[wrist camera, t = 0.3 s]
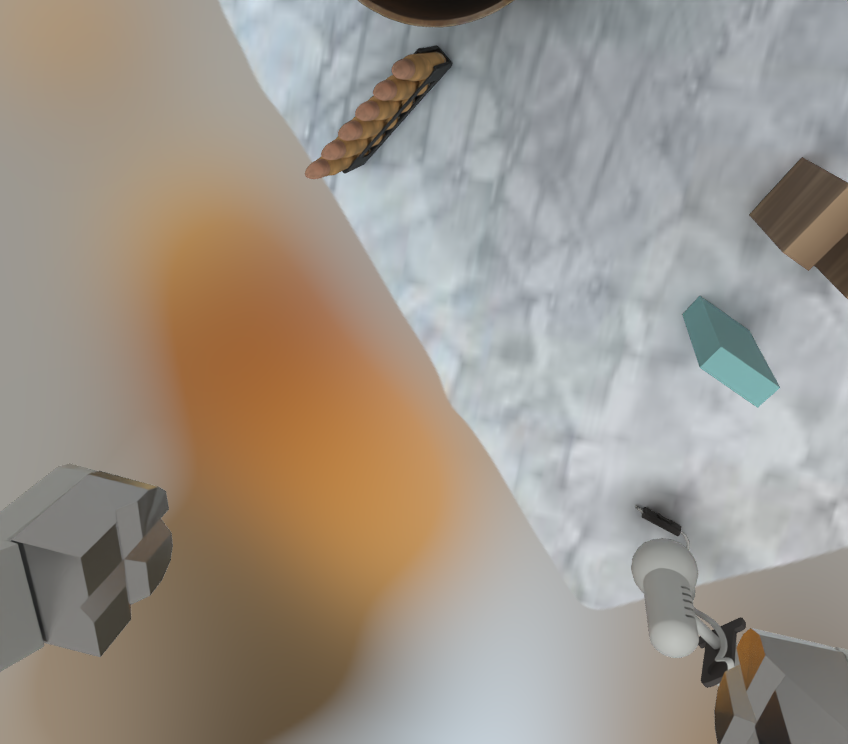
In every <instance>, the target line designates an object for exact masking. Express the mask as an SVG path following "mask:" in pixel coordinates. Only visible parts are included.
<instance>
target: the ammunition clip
mask: <svg viewBox="0 0 848 744" xmlns="http://www.w3.org/2000/svg"><path fill="white" fill-rule="evenodd" d="M451 66H452V62H451V61H450V60H449V59H448V58H447V56H446V55H445V54H444V53H443V52H442V51H441V50H440V49H439V47H438V46H432V47H426V48H419V49H417V51H416V52H415V53H414V54H411V55H408V56H406V57H405V58H403V59H401V60H399V61H397V62H396V63H395V64H394V65H393V67H392V73H393V75H392V76H390V77H388V78H387V79H386V80H384V81H382V82H380V83H378V84H377V85H376V86H375V88H374V90H373V94H374V96H373V97H371V98H370V99H369V100H368V101H366V102H364V103H362V104H361V105H360V106H359V107H358V108H357V109H356V112H355V115H356V116H355V117H354V118H353V119H352V120H351V121H349V122H347V123H345V124H344V125H343V126H342V127H341V128H340V130H339V132H338V137H337V138H336V139H335V140H334V141H332V142H330V143H328V144H327V145H326V146H325V147H324V148H323V150H322V153H321V157H320V158H319V159H317V160H316V161H314V162H313V163H311V164H310V165H309V166H308V168H307V169H306V171H305V175H306V177H307V178H310V179H318V178H322V177H325V176H328V175H335V174H337V173H339V172H341V171H343V173H347V172H349V171H351V170H353V169H356V168H358V167H360V166H362V165H364V164H365V163H366V161H367V160H368V159H369V158H370V157H371V156H372V155H373V154H374V152H375V151H376V150H377V149H378V148H379V147H380V146H381V145H382V144H383V142H384V141H385V140H386V139H387V138H388V137H389V136H390V135H391V133H392V132H393V131H394V130H395V129H396V128H397V127H398V126H399V124H400V123H401V122H402V121H403V120H404V119H405V118H406V117H407V116H408V114H409V113H410V112H411V111H412V110H413V109H414V108H415V107H416V105H417V104H418V103H419V102H420V101H421V100H422V99H423V98H424V96H425V95H426V94H427V93H428V92H429V91H430V90H431V89H432V87H433V86H434V85H435V84H436V83H437V82H438V81H439V80H440V79H441V77H442V76H443V75H444V74H445V73H446V72H447V71H448V70H449V68H450V67H451Z"/></svg>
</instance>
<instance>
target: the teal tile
mask: <svg viewBox="0 0 848 744" xmlns="http://www.w3.org/2000/svg"><path fill="white" fill-rule="evenodd" d="M682 315H683V318H684V321H685V324H686V327H687V330H688V333H689V336H690V339H691V342H692V345H693V348H694V351H695V354H696V357H697V360H698V363H699V367H700V368H701V369H702V370H704V371H705V372H707V373H708V374H710V375H711V376H713V377H714V378H716V379H717V380H718V381H720V382H721V383H723V384H724V385H726V386H727V387H729V388H730V389H731V390H733V391H734V392H736V393H737V394H739V395H740V396H742V397H743V398H744V399H746V400H747V401H749V402H750V403H752V404H753V405H755V406H756V407H757V408H758V407H759V406H760V405H761V404H762V403H763V402H765V401H766V400H767V399H768V398H769V397H770V396H771V395H772V394H774V393H775V392H776V391H777V390H778V389H779V388H780V386H779V385H778V383H777V381H776V379H775V377H774V375H773V374H772V372H771V370H770V368H769V366H768V364H767V362H766V361H765V359H764V357H763V355H762V353H761V351H760V349H759V348H758V346H757V344H756V342H755V340H754V338H753V336H752V335H751V333H750V331H749V330H748V329H746V328H745V327H744V326H742V325H741V324H739V323H738V322H737V321H735V320H734V319H732V318H731V317H729V316H728V315H727V314H725V313H724V312H722V311H721V310H719V309H718V308H717V307H715V306H714V305H712V304H711V303H709V302H708V301H707V300H705V299H704V298H702V297H701V296H699V297H698V298H697V299H696V301H695V302H694V303H693V304H692V305H691V306H690V307H689V308H688V309H687V310H686V311H685V312H684V313H683V314H682Z"/></svg>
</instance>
